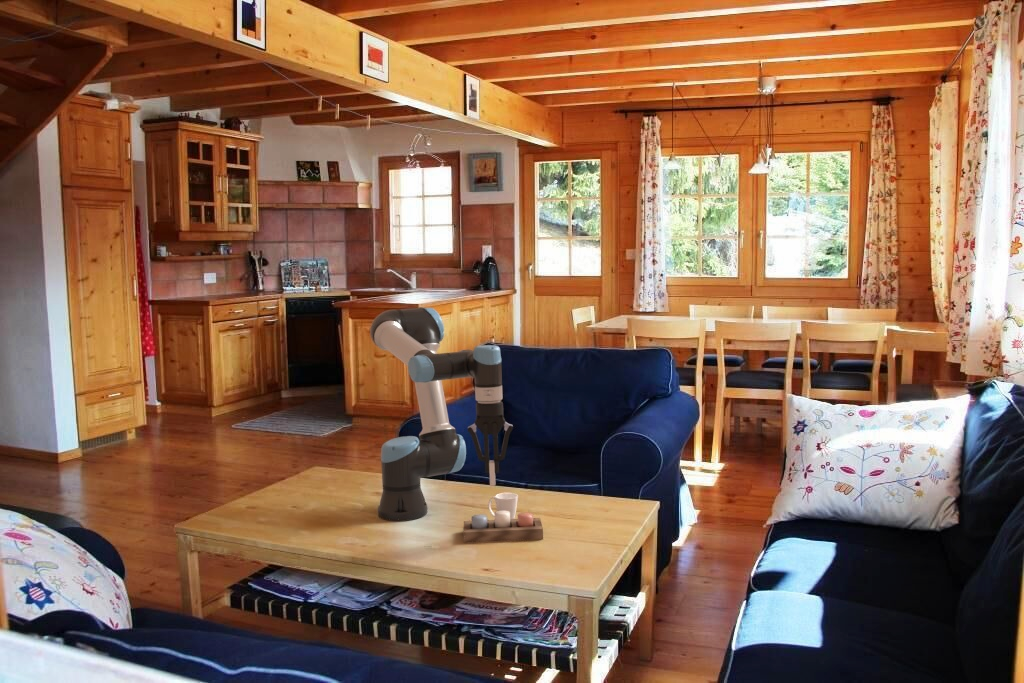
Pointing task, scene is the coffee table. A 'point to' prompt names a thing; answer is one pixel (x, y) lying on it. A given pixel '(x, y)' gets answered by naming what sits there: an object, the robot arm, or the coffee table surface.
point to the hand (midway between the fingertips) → (492, 484)
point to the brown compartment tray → (503, 532)
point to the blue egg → (479, 522)
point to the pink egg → (525, 520)
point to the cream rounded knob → (502, 519)
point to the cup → (505, 503)
